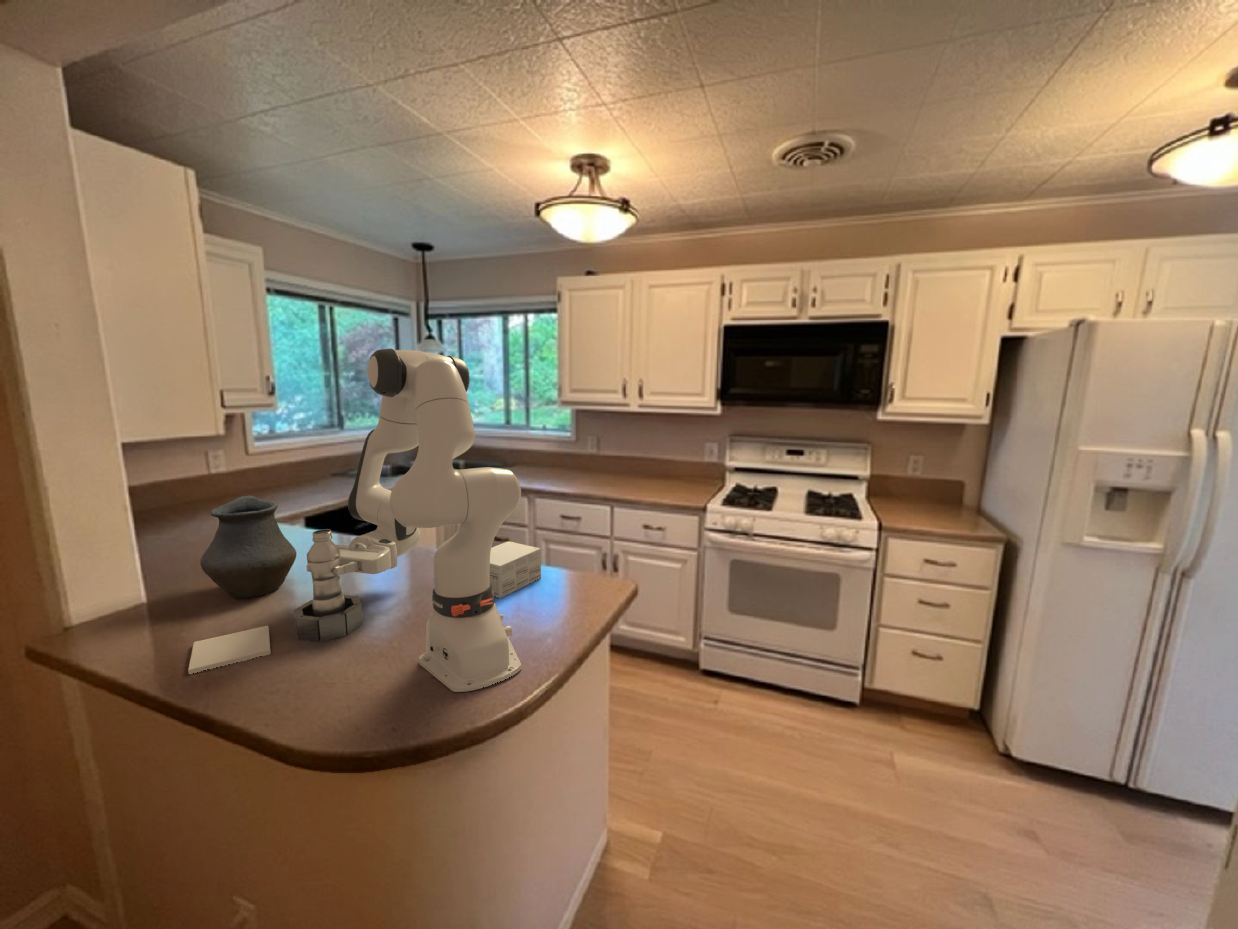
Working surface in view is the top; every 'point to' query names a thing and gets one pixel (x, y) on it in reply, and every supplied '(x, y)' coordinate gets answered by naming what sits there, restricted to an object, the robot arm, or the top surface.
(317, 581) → the plastic bottle
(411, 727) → the top surface
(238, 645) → the ceramic tile
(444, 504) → the robot arm
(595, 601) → the top surface
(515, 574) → the supplement box
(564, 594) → the top surface
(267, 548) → the dark grey clay pot
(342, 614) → the metal ring
